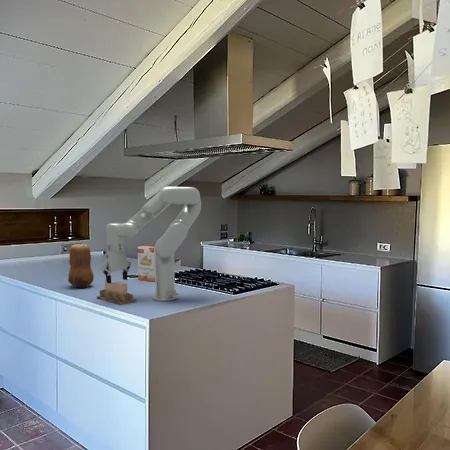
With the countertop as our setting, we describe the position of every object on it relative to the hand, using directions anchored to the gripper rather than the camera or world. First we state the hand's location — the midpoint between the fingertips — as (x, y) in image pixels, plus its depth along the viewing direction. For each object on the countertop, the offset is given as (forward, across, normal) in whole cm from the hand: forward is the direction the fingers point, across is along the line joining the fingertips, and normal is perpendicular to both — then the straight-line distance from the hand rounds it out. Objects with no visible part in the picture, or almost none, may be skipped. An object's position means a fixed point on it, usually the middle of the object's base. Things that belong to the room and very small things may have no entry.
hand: (117, 281), depth 233 cm
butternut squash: (+9, +4, +43) cm, 44 cm away
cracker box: (+10, +43, +30) cm, 53 cm away
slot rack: (+10, -1, +1) cm, 10 cm away
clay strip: (+8, -1, +1) cm, 9 cm away
